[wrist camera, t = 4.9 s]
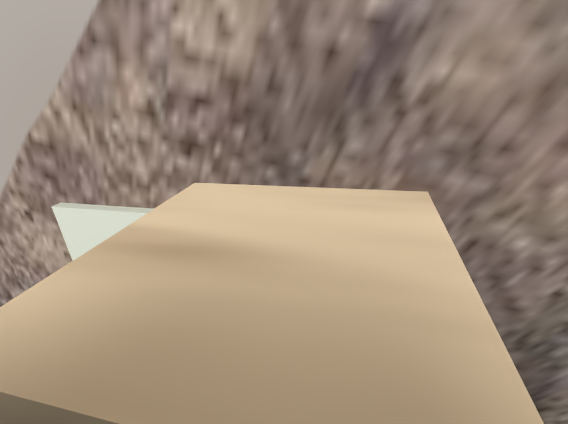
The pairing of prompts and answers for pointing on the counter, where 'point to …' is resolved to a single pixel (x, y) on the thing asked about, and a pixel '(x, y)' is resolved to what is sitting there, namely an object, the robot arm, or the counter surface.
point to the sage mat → (92, 223)
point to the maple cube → (262, 319)
